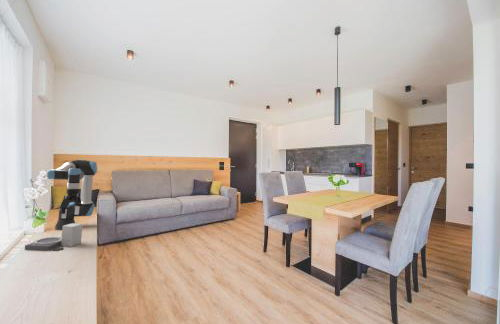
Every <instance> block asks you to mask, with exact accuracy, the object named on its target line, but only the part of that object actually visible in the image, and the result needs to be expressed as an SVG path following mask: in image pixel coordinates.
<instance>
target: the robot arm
mask: <svg viewBox="0 0 500 324" xmlns="http://www.w3.org/2000/svg"><path fill="white" fill-rule="evenodd" d="M97 173H98V164H97V162H96V161H94V160H81V159H75V160H69V161H67V162H65V163H63V164H62V166H60V167H58V168H55V169H48V171H47V173H46V178H47V180H59V181H60V180H66V181H67V182H66V183H67V184H66V191H65V193H66V195H64V196H63V199H62V202H61V204H60V205H59V209H58V217H57V218H58V219H57V222H56V224H55V226H54V229H55V230H57V231H59V230H60V231H62V226H64V225H68V224H72V223H75V224H76V221H75V217H90V216H92V215H93V214H94V210H95V203H94V202H93V201H92V194H93V179H94V178H93V177H95V175H96V174H97ZM80 182H81V183H80ZM80 185H81V186H80Z"/></svg>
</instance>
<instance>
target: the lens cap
mask: <svg viewBox="0 0 500 324" xmlns="http://www.w3.org/2000/svg"><path fill="white" fill-rule="evenodd" d="M64 249H65V248H64V247H63V246H62V247H60V246H58V247H56V248H54V249H52V251H53V252H59V251H60V250H61V251H64Z"/></svg>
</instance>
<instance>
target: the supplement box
mask: <svg viewBox="0 0 500 324" xmlns="http://www.w3.org/2000/svg"><path fill="white" fill-rule="evenodd" d="M83 225H84V224H83V223H76V222H75V223H72V224H68V225H64V226H62V230H61V245H60V246H62V247H75V246H77V245H80V244H82V236H83V227H84V226H83Z"/></svg>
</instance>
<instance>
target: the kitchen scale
mask: <svg viewBox="0 0 500 324" xmlns="http://www.w3.org/2000/svg"><path fill="white" fill-rule="evenodd" d="M61 238H62V236H61V237H60V236H48V237H42V238H39V239H36V240H34V241H33V242H29V243H27V244H25V245H24V251H25V250H26V251H27V250H28V251H47V250H49V251H51V250H53V248H54V249H55V248H59V247H60V246H61Z"/></svg>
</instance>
